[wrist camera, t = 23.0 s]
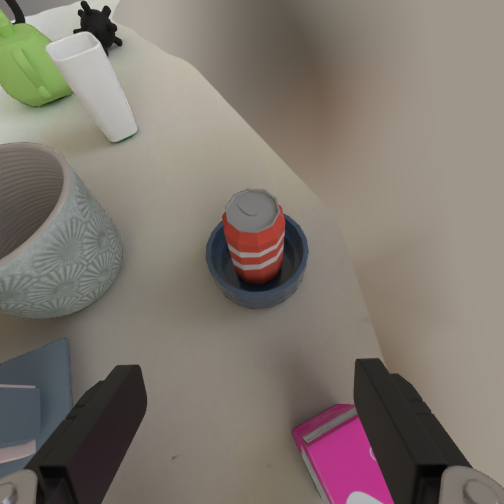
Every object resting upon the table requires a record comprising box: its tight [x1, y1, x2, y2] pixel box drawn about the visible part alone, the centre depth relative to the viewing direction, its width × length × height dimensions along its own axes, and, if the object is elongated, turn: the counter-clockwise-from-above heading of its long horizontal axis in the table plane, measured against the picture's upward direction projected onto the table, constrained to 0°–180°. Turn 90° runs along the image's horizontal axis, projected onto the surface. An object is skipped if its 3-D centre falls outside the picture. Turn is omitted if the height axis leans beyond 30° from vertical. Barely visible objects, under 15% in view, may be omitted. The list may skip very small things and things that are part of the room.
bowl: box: [206, 214, 309, 309], centre depth 33 cm, size 12×12×5 cm
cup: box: [45, 32, 138, 142], centre depth 45 cm, size 7×7×15 cm
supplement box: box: [292, 404, 394, 504], centre depth 20 cm, size 6×6×12 cm
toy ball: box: [73, 1, 122, 57], centre depth 65 cm, size 11×11×12 cm
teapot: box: [0, 9, 72, 107], centre depth 56 cm, size 22×15×13 cm
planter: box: [0, 142, 123, 319], centre depth 30 cm, size 17×17×15 cm
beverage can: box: [222, 189, 285, 285], centre depth 30 cm, size 6×6×12 cm
